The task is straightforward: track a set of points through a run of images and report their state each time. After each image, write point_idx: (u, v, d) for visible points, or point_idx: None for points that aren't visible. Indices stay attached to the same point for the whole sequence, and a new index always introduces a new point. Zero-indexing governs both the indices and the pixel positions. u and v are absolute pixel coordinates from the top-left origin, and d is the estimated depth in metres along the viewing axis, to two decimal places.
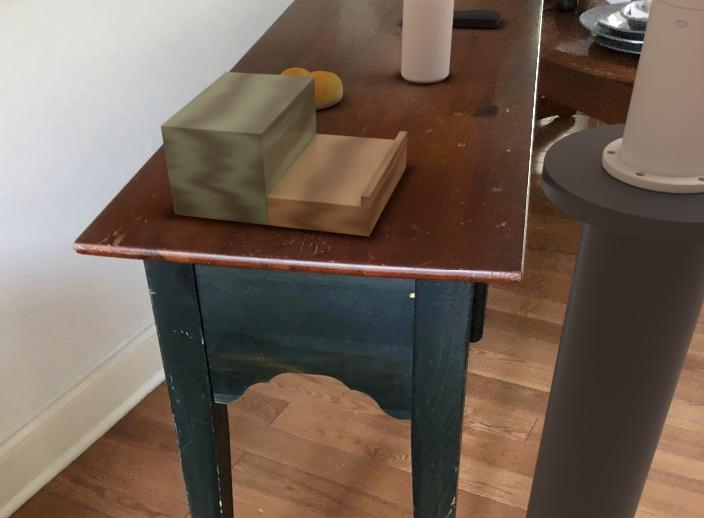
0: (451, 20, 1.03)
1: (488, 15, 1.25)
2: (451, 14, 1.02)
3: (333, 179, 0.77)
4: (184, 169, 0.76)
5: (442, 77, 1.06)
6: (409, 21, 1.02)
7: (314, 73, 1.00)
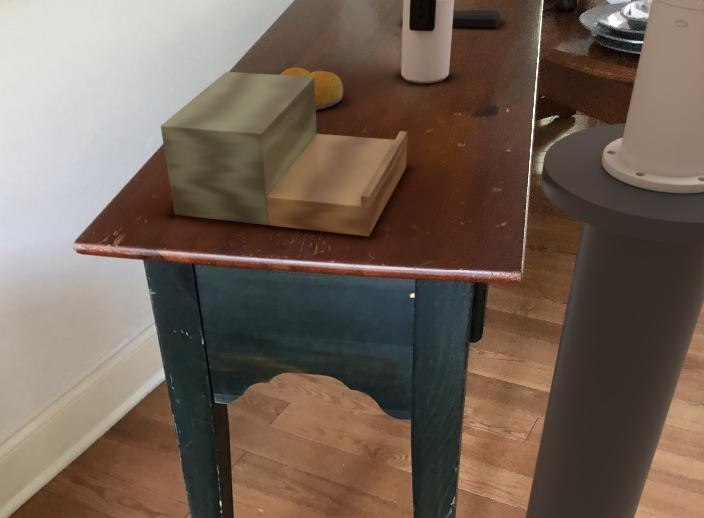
0: (451, 20, 1.03)
1: (488, 15, 1.25)
2: (451, 14, 1.02)
3: (333, 179, 0.77)
4: (184, 169, 0.76)
5: (442, 77, 1.06)
6: None
7: (314, 73, 1.00)
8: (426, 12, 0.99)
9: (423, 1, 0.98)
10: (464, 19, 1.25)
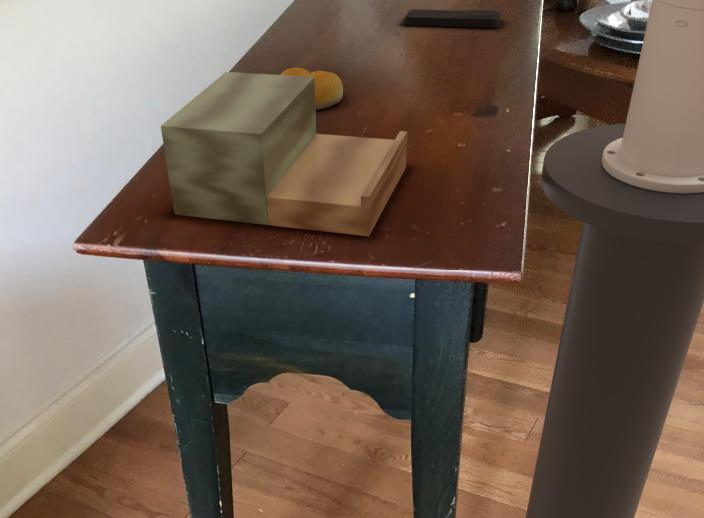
0: None
1: (488, 15, 1.25)
2: None
3: (333, 179, 0.77)
4: (184, 169, 0.76)
5: None
6: None
7: (314, 73, 1.00)
8: None
9: None
10: (464, 19, 1.25)
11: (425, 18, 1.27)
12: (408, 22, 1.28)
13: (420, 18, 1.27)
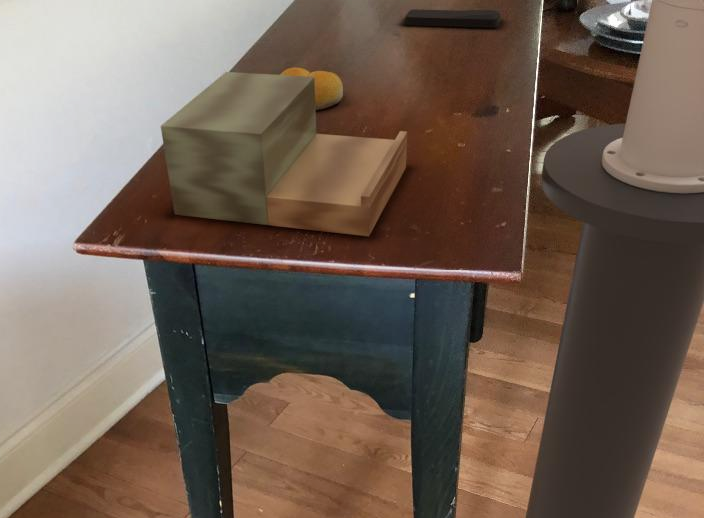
0: None
1: (488, 15, 1.25)
2: None
3: (333, 179, 0.77)
4: (184, 169, 0.76)
5: None
6: None
7: (314, 73, 1.00)
8: None
9: None
10: (464, 19, 1.25)
11: (425, 18, 1.27)
12: (407, 22, 1.28)
13: (420, 18, 1.27)
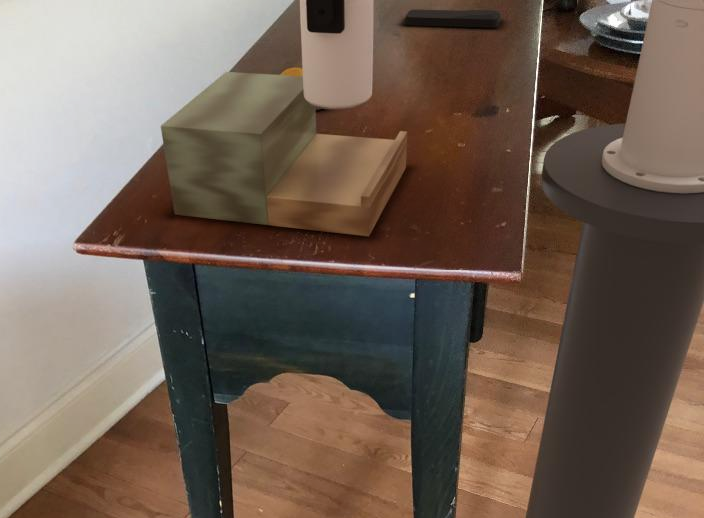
0: (370, 17, 0.69)
1: (488, 15, 1.25)
2: (369, 8, 0.69)
3: (333, 179, 0.77)
4: (184, 169, 0.76)
5: (361, 100, 0.73)
6: None
7: None
8: (329, 5, 0.66)
9: None
10: (464, 19, 1.25)
11: (425, 18, 1.27)
12: (407, 22, 1.28)
13: (420, 18, 1.27)
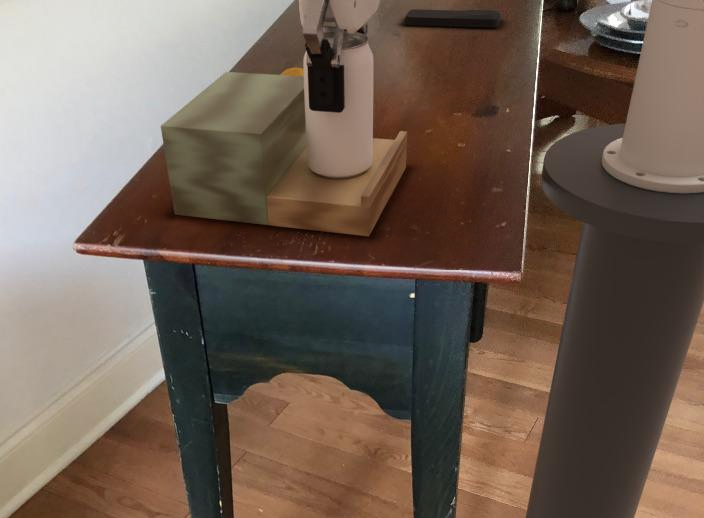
0: (370, 95, 0.74)
1: (488, 15, 1.25)
2: (369, 87, 0.73)
3: (333, 179, 0.77)
4: (184, 169, 0.76)
5: (361, 170, 0.77)
6: None
7: None
8: (330, 88, 0.70)
9: (325, 72, 0.69)
10: (464, 19, 1.25)
11: (425, 18, 1.27)
12: (408, 22, 1.28)
13: (420, 18, 1.27)
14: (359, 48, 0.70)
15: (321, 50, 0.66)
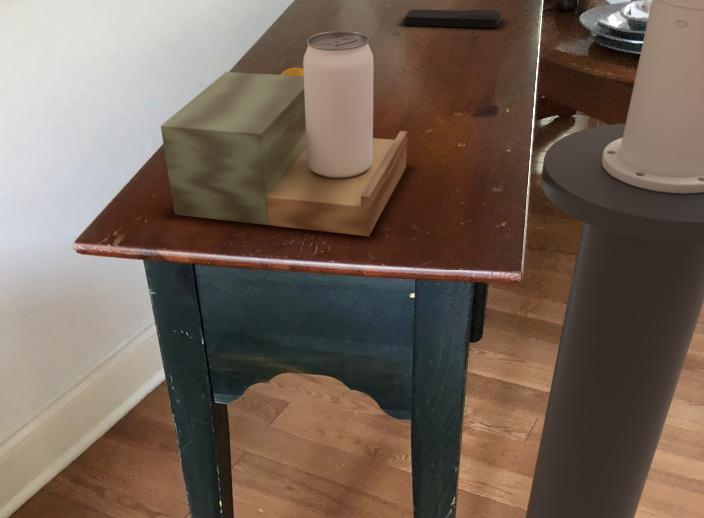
0: (370, 95, 0.74)
1: (488, 15, 1.25)
2: (369, 87, 0.73)
3: (333, 179, 0.77)
4: (184, 169, 0.76)
5: (361, 170, 0.77)
6: (311, 96, 0.73)
7: None
8: None
9: None
10: (464, 19, 1.25)
11: (425, 18, 1.27)
12: (407, 22, 1.28)
13: (420, 18, 1.27)
14: (359, 48, 0.70)
15: None
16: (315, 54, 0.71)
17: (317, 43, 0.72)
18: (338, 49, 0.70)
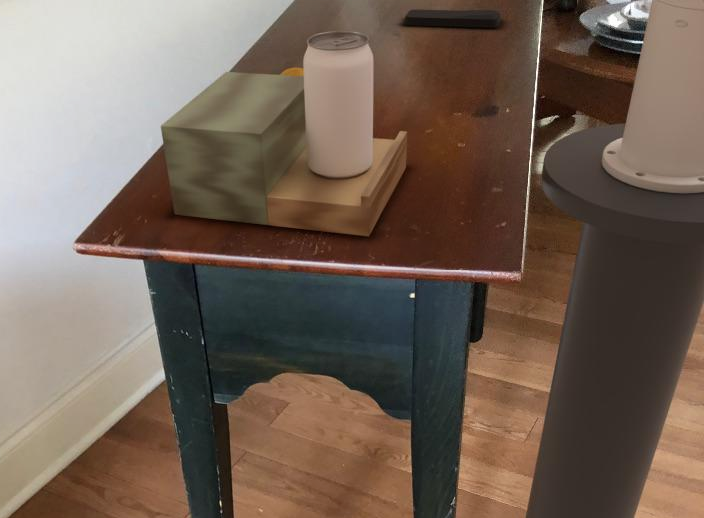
0: (370, 95, 0.74)
1: (488, 15, 1.25)
2: (369, 87, 0.73)
3: (333, 179, 0.77)
4: (184, 169, 0.76)
5: (361, 170, 0.77)
6: (311, 96, 0.73)
7: None
8: None
9: None
10: (464, 19, 1.25)
11: (425, 18, 1.27)
12: (407, 22, 1.28)
13: (420, 18, 1.27)
14: (359, 48, 0.70)
15: None
16: (315, 54, 0.71)
17: (317, 43, 0.72)
18: (338, 49, 0.70)
